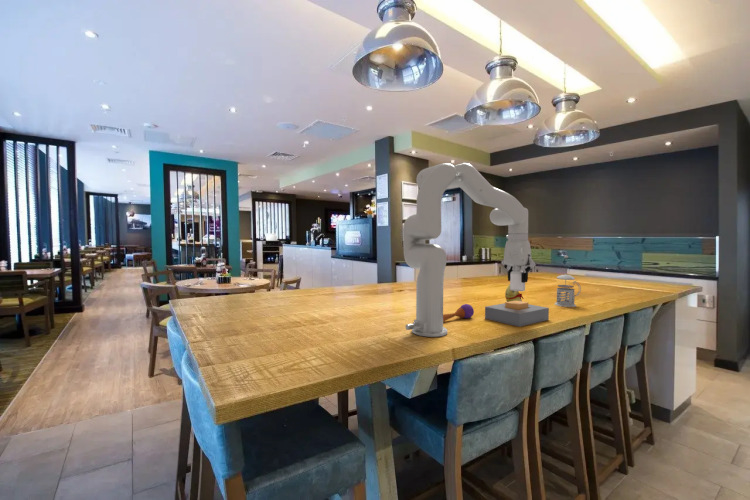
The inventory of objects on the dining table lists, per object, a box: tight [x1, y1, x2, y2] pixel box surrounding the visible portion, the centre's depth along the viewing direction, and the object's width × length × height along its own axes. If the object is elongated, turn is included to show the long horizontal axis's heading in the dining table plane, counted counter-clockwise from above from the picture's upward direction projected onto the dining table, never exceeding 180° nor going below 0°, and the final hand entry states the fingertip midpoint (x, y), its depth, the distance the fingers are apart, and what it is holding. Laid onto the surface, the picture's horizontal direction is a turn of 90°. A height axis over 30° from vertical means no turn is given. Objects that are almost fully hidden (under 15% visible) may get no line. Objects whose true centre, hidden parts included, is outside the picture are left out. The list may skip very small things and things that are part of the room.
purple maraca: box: [443, 303, 475, 323], centre depth 141 cm, size 6×6×20 cm
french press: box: [554, 255, 582, 308], centre depth 172 cm, size 10×12×25 cm
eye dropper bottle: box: [509, 265, 526, 292], centre depth 142 cm, size 4×6×12 cm
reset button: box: [504, 300, 529, 310], centre depth 142 cm, size 8×6×3 cm
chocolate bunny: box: [504, 284, 524, 302], centre depth 163 cm, size 7×11×15 cm, turn 123°
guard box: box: [484, 302, 550, 328], centre depth 142 cm, size 20×16×5 cm
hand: (517, 281), depth 142 cm, fingers closed on eye dropper bottle, 5 cm apart
